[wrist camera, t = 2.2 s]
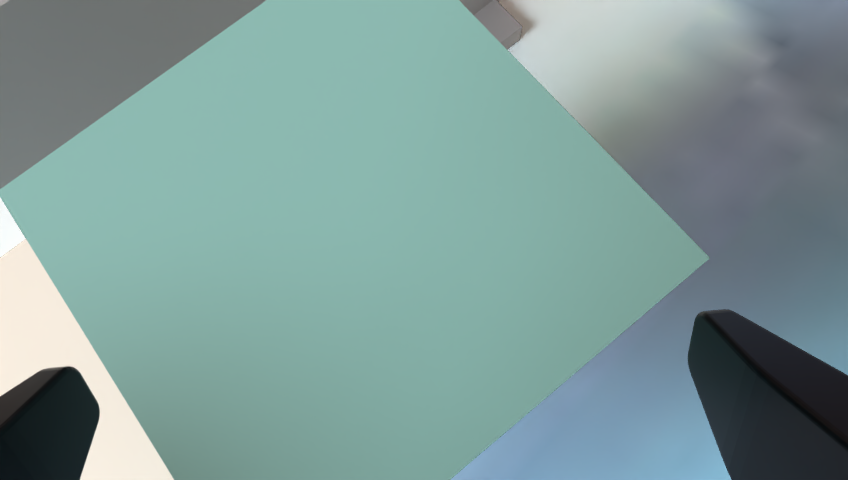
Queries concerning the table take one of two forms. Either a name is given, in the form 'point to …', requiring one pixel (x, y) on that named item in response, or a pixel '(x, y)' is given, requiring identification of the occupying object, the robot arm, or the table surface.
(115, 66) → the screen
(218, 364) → the teal block
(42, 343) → the pad
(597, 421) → the table surface
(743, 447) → the robot arm
